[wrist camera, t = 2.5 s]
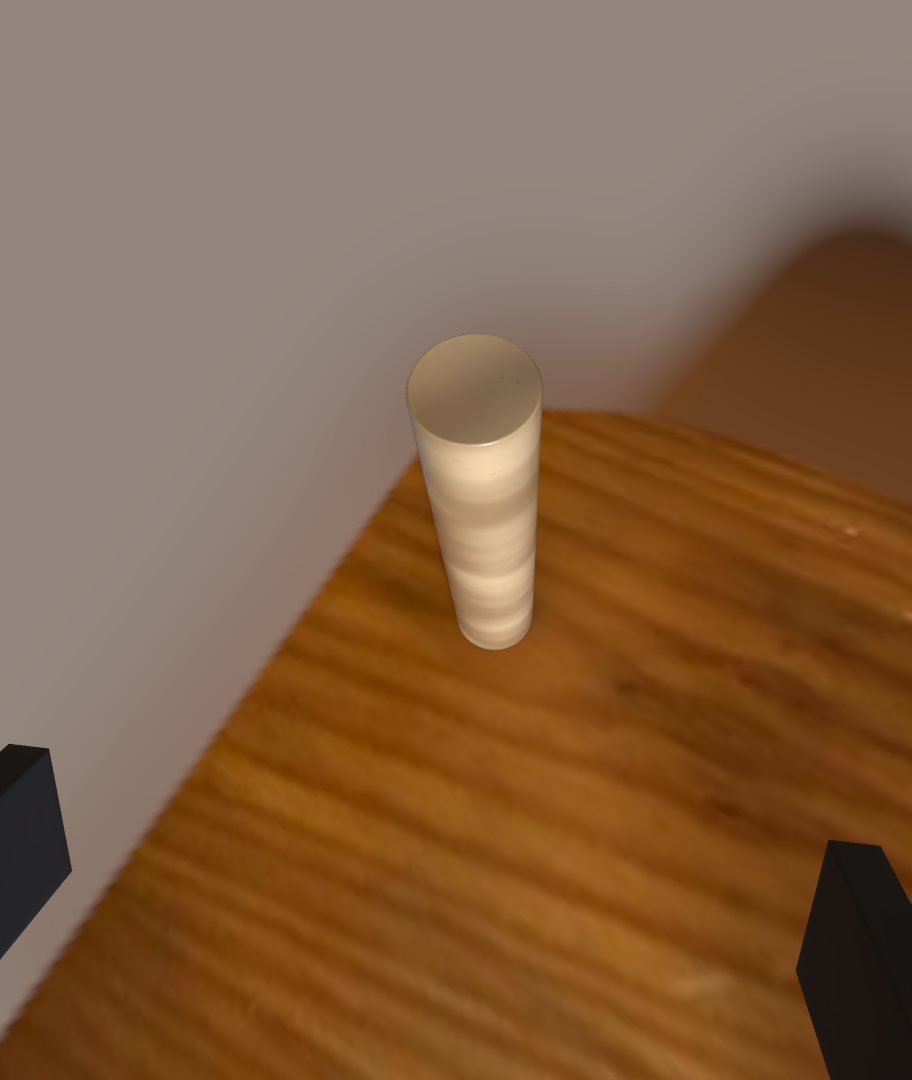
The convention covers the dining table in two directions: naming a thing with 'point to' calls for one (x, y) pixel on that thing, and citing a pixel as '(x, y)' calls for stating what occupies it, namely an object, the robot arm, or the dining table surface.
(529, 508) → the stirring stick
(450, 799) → the dining table surface
